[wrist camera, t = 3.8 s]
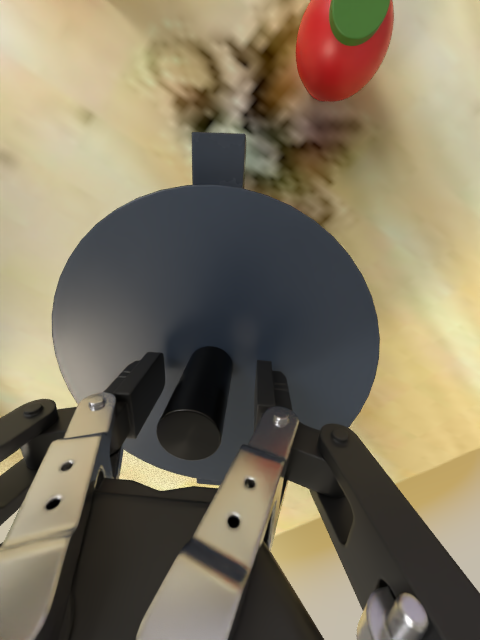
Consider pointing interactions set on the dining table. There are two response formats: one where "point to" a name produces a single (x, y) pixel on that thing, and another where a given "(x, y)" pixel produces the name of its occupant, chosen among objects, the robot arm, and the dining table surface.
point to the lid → (215, 318)
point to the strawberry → (342, 45)
